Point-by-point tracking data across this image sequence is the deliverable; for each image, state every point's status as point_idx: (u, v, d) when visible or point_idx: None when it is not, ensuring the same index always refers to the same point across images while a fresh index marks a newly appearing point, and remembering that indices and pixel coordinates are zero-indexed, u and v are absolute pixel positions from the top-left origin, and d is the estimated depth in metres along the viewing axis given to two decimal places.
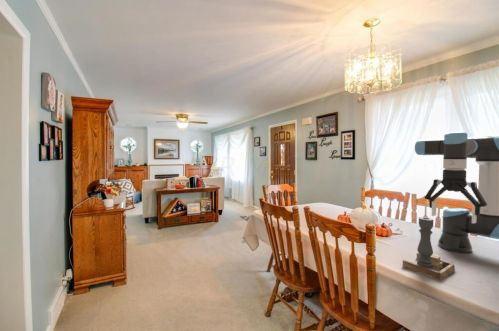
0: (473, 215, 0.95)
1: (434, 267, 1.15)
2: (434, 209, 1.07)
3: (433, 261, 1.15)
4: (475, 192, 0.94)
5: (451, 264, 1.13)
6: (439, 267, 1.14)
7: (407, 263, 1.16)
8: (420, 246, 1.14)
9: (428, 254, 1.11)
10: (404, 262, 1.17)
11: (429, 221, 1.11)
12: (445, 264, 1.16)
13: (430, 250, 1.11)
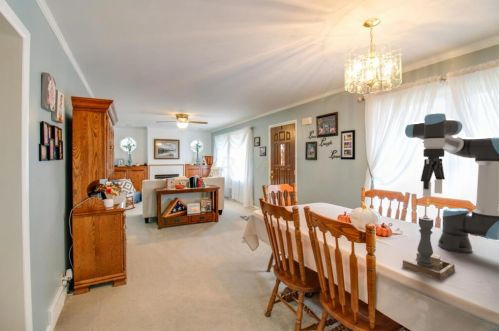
0: None
1: (434, 267, 1.15)
2: (437, 187, 1.12)
3: (434, 261, 1.15)
4: None
5: (451, 264, 1.13)
6: (439, 267, 1.14)
7: (407, 263, 1.16)
8: (420, 246, 1.14)
9: (428, 254, 1.11)
10: (404, 262, 1.17)
11: (429, 221, 1.11)
12: (445, 264, 1.16)
13: (430, 250, 1.11)
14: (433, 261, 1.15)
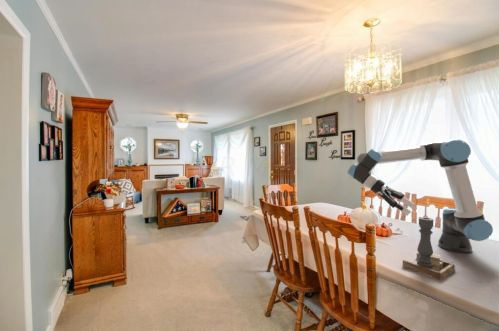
0: None
1: (435, 267, 1.15)
2: (408, 203, 1.28)
3: (435, 261, 1.15)
4: None
5: (451, 264, 1.13)
6: (440, 267, 1.14)
7: (407, 263, 1.16)
8: (420, 246, 1.14)
9: (428, 254, 1.11)
10: (404, 262, 1.17)
11: (429, 221, 1.11)
12: (445, 264, 1.16)
13: (430, 250, 1.11)
14: (434, 261, 1.15)
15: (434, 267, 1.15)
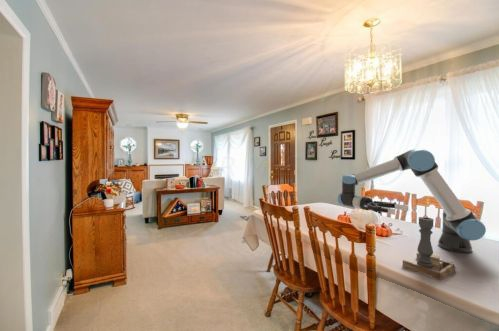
0: None
1: (435, 267, 1.15)
2: (402, 208, 1.28)
3: (435, 261, 1.15)
4: None
5: (451, 264, 1.13)
6: (439, 267, 1.14)
7: (407, 263, 1.16)
8: (420, 246, 1.14)
9: (428, 254, 1.11)
10: (404, 262, 1.17)
11: (429, 221, 1.11)
12: (445, 264, 1.16)
13: (430, 250, 1.11)
14: (433, 261, 1.15)
15: (434, 267, 1.15)
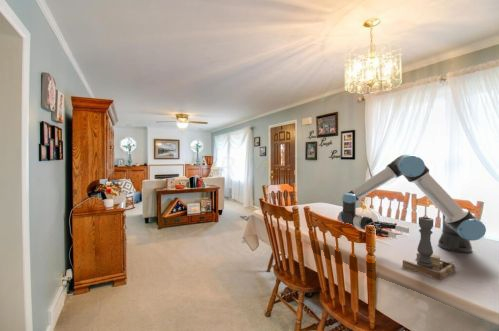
0: None
1: (435, 267, 1.15)
2: (402, 230, 1.28)
3: (435, 261, 1.15)
4: None
5: (451, 264, 1.13)
6: (440, 267, 1.14)
7: (407, 263, 1.16)
8: (420, 246, 1.14)
9: (428, 254, 1.11)
10: (404, 262, 1.17)
11: (429, 221, 1.11)
12: (445, 264, 1.16)
13: (430, 250, 1.11)
14: (434, 261, 1.15)
15: (434, 267, 1.15)
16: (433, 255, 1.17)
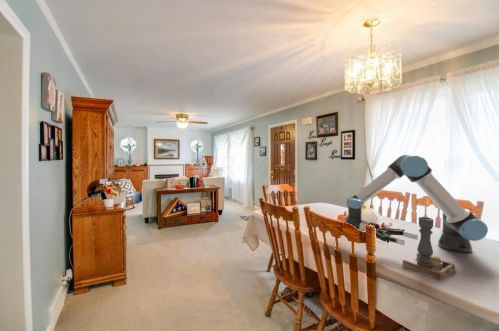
0: None
1: (435, 267, 1.15)
2: (411, 236, 1.25)
3: (436, 261, 1.15)
4: None
5: (451, 264, 1.13)
6: (440, 267, 1.14)
7: (407, 263, 1.16)
8: (420, 246, 1.14)
9: (428, 254, 1.11)
10: (404, 262, 1.17)
11: (429, 221, 1.11)
12: (445, 264, 1.16)
13: (430, 250, 1.11)
14: (435, 261, 1.15)
15: (434, 267, 1.15)
16: (433, 255, 1.17)
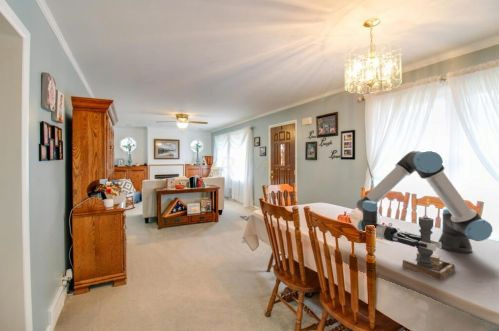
0: None
1: (435, 267, 1.15)
2: (434, 244, 1.13)
3: (435, 261, 1.15)
4: None
5: (451, 264, 1.13)
6: (440, 267, 1.15)
7: (407, 263, 1.16)
8: None
9: (428, 254, 1.11)
10: (404, 262, 1.17)
11: (429, 221, 1.11)
12: (445, 264, 1.16)
13: (430, 250, 1.11)
14: (433, 261, 1.15)
15: (434, 267, 1.15)
16: (432, 255, 1.17)
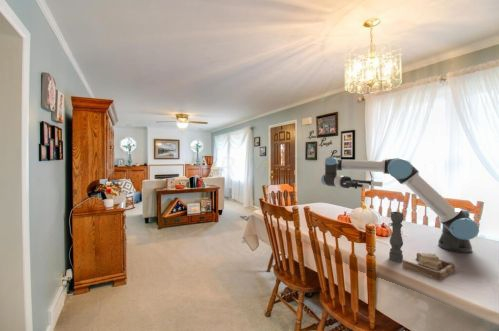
0: None
1: (433, 266, 1.15)
2: (377, 184, 1.41)
3: (434, 261, 1.16)
4: (348, 186, 1.42)
5: (451, 264, 1.13)
6: (438, 266, 1.15)
7: (407, 263, 1.16)
8: (391, 238, 1.25)
9: (398, 245, 1.22)
10: (404, 262, 1.17)
11: (399, 215, 1.22)
12: (445, 264, 1.16)
13: (400, 241, 1.22)
14: (433, 261, 1.16)
15: (433, 266, 1.16)
16: (430, 254, 1.18)
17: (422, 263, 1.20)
